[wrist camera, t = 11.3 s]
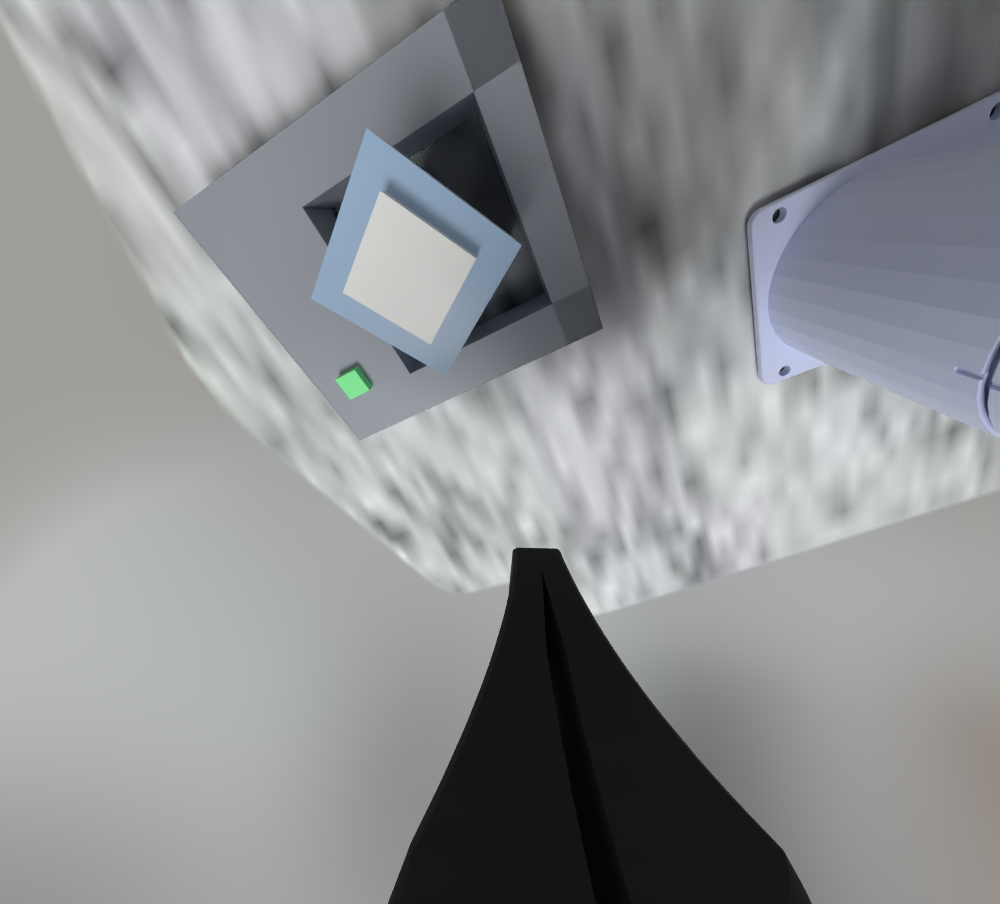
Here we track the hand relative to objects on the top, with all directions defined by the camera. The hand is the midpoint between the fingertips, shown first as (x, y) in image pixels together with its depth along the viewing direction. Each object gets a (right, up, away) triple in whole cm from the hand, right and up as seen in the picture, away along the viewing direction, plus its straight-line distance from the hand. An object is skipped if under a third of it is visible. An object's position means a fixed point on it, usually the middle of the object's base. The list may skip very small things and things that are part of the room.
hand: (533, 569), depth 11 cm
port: (-5, +12, +4) cm, 13 cm away
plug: (-3, +12, +4) cm, 13 cm away
